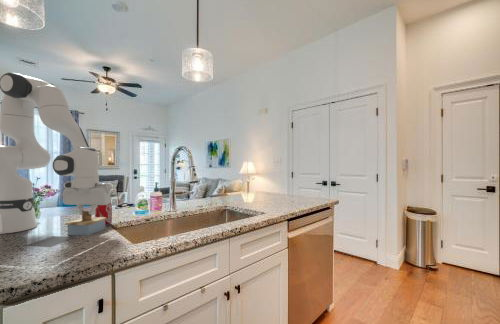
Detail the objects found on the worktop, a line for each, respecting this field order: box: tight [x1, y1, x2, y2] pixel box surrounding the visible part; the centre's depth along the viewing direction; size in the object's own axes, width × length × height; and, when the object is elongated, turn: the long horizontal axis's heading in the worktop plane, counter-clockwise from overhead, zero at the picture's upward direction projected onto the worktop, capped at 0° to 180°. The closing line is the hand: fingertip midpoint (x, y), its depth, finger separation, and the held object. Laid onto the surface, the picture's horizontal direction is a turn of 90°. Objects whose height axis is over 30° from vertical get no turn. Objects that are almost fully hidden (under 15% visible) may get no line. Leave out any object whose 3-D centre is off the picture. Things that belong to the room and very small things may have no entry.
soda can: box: [94, 202, 113, 227], centre depth 114 cm, size 7×7×12 cm
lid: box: [65, 209, 106, 226], centre depth 102 cm, size 10×10×5 cm
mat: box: [24, 235, 77, 248], centre depth 90 cm, size 11×11×1 cm
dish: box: [67, 220, 106, 236], centre depth 102 cm, size 10×10×5 cm
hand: (87, 214), depth 102 cm, fingers open, 3 cm apart
